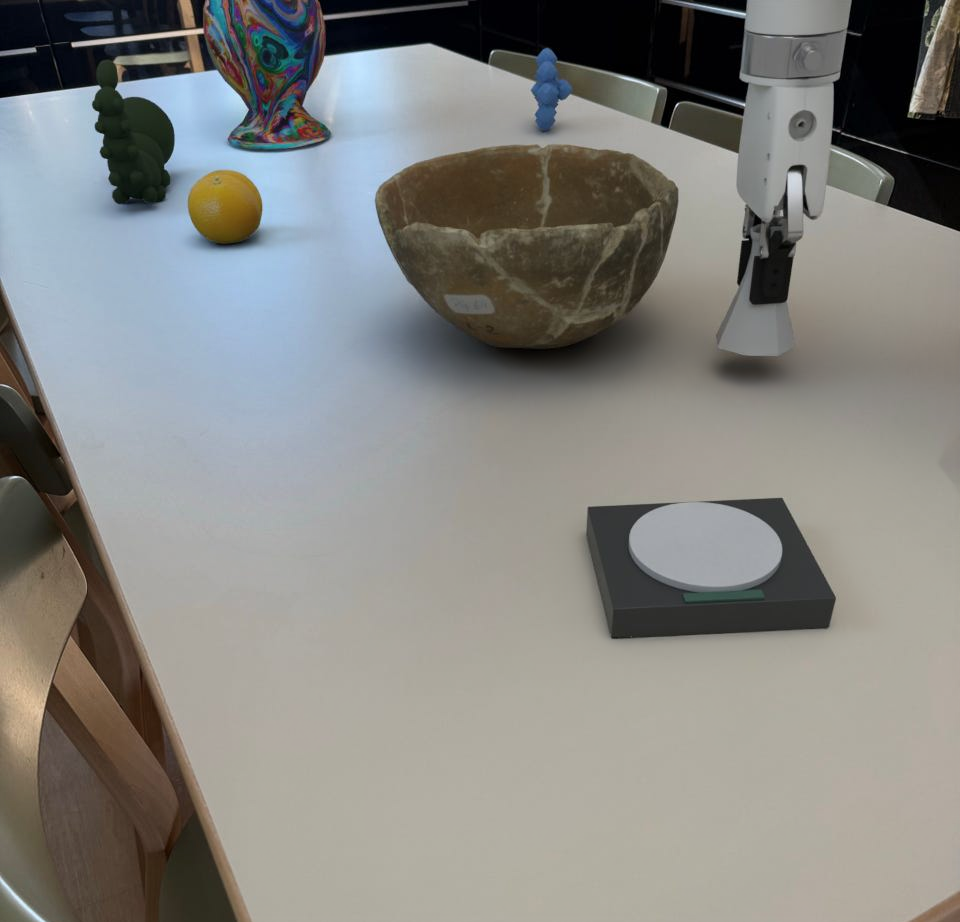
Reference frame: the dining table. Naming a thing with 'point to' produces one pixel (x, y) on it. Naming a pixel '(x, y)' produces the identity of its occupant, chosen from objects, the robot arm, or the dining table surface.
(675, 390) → the dining table surface
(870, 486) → the dining table surface
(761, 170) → the robot arm
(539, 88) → the grapes
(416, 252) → the bowl
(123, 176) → the toy figurine
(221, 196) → the fruit
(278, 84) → the vase
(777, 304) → the flask
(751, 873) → the dining table surface
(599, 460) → the dining table surface
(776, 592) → the scale
